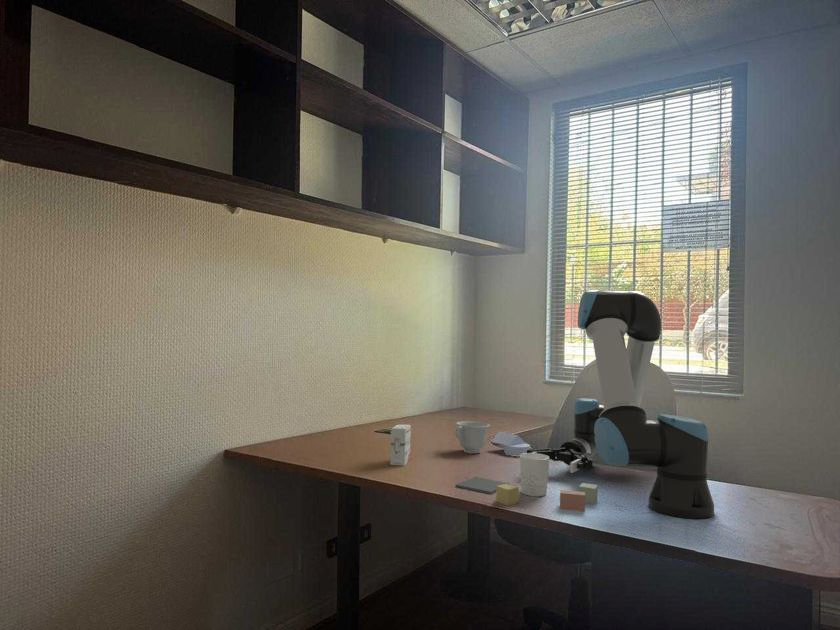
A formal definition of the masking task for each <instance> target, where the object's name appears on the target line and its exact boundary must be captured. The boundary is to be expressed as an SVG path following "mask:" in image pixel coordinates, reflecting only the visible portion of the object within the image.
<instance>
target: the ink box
mask: <svg viewBox="0 0 840 630" xmlns="http://www.w3.org/2000/svg"><path fill="white" fill-rule="evenodd" d="M411 433H412V425H411V424H396V425H394V426H393V427H392V428H391V429H390V455H389V456H390V457H389V460H390V461H389V465H390V466H399V467H403V466H404V467H405V465H407V463H409V462H410V461H411Z"/></svg>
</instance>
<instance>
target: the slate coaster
mask: <svg viewBox="0 0 840 630" xmlns="http://www.w3.org/2000/svg"><path fill="white" fill-rule="evenodd" d="M503 484H510V483H508V482H503V481H499V480H494V479H488V478H485V477H484V478H483V477H478V476H474V477H471V478H468V479H466V480H464V481H461V482H459V483H455V487H456V488H461V489H465V490H469V491H474V492H480V493H484V494H489V495H493V494H494V493H496V486H499V485H503Z"/></svg>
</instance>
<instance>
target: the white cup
mask: <svg viewBox="0 0 840 630" xmlns="http://www.w3.org/2000/svg"><path fill="white" fill-rule="evenodd" d="M549 458H550V457H549V456H547V455H544V454H538V453H524V454H521V455H520V457H519V468H520V470H519V475H520V476H519V479H520V492H521V494H523V495H524V496H527V497H543V496H546V495H547V492H548V491H547V490H548V489H547V488H548V483H549V482H548V480H549V471H550V459H549Z"/></svg>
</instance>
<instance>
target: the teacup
mask: <svg viewBox="0 0 840 630" xmlns="http://www.w3.org/2000/svg"><path fill="white" fill-rule="evenodd" d="M455 425H456V426H457V427H455V431H454V433H455V437H456V438H457V439H458V442H459V445H460V446H461V448H463V449H464V450H463V452H464V453H465V454H473V453H474V454H479V453H481V449H482V448H484V446H485V445H486V440H487V435H488V433H487V432H488V428H489V427H490V426H491V425H490V423H488V422H484V421H478V420H475V421H474V420H463V421H462V420H461V421H458V422H456V423H455Z"/></svg>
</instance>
